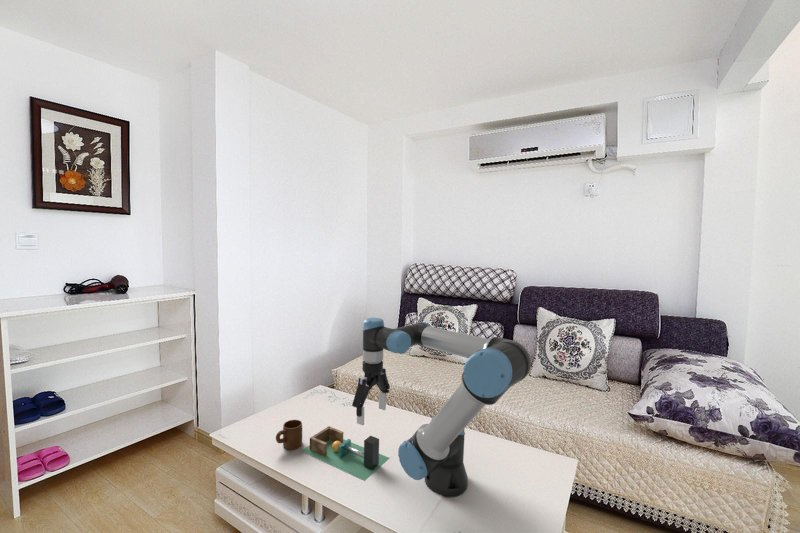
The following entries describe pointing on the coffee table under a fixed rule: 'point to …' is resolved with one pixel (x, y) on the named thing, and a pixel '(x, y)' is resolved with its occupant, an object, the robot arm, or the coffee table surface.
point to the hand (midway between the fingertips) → (371, 416)
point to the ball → (336, 446)
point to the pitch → (347, 460)
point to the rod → (369, 451)
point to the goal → (320, 439)
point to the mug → (291, 435)
